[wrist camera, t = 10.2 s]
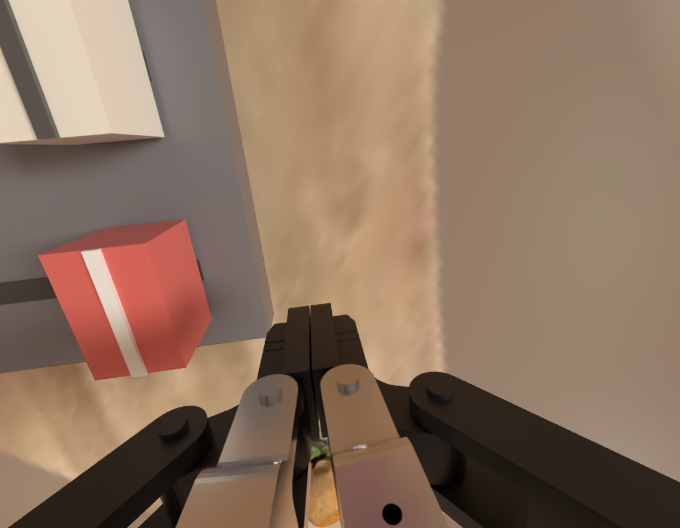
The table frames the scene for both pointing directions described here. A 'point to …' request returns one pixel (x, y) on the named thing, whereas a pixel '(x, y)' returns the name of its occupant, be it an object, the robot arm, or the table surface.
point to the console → (139, 194)
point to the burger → (322, 485)
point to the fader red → (131, 297)
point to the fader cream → (73, 74)
